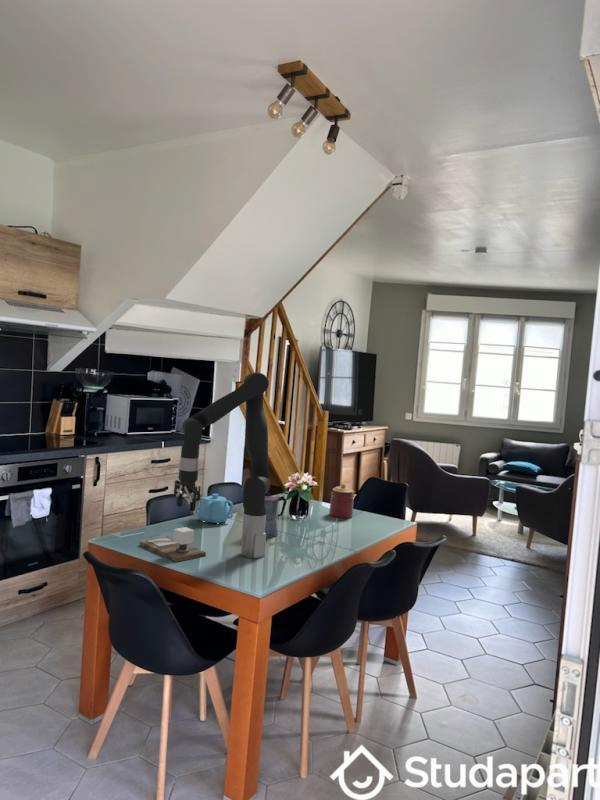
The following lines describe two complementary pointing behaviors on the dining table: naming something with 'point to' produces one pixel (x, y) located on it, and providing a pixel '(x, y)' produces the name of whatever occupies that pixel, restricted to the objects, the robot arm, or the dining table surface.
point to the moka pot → (272, 514)
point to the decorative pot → (214, 509)
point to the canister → (341, 502)
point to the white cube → (183, 535)
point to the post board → (172, 549)
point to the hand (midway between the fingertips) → (185, 508)
